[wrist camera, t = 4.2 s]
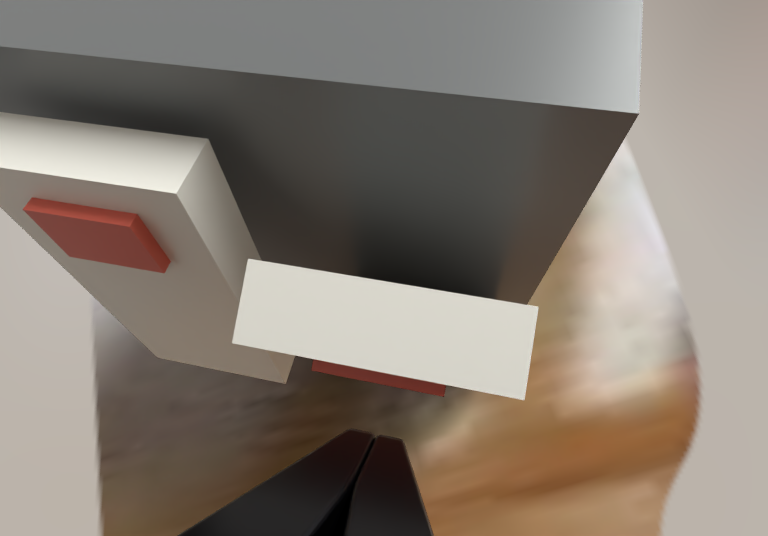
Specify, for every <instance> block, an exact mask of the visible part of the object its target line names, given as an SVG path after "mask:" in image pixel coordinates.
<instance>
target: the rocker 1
mask: <svg viewBox="0 0 768 536" xmlns="http://www.w3.org/2000/svg"><path fill="white" fill-rule="evenodd" d="M0 207H1V208H2V209H3V210H4V211H5V212H6V213H7V214H8V215H9V216H10V217H11V218H12V219H13V220H14V221H15V222H16V223H18V225H20V226H21V227H22V228H23V229H24V230H25V231H26V232H27V233H28V234H29V235H30V236H31V237H32V238H33V239H34V240H35V241H36V242H37V243H38V244H39V245H40V246H41V247H42V248H44V249H45V250H46V251H47V252H48V253H49V254H50V255H51V256H52V257H53V258H54V259H55V260H56V261H57V262H58V263H59V264H60V265H61V266H62V267H63V268H64V269H65V270H67V271H68V272H69V273H70V274H71V275H72V276H73V277H74V278H75V279H76V280H77V281H78V282H79V283H80V284H81V285H82V286H83V287H84V288H85V289H86V290H87V291H88V292H89V293H90V294H91V295H93V296H94V297H95V298H96V299H97V300H98V301H99V302H100V303H101V304H102V305H103V306H104V307H105V308H106V309H107V310H108V311H109V312H110V313H111V314H112V315H113V316H114V317H115V318H117V319H118V320H119V321H120V322H121V323H122V324H123V325H124V326H125V327H126V328H127V329H128V330H129V331H130V332H131V333H132V334H133V335H134V336H135V337H136V338H137V339H138V340H139V341H141V342H142V343H143V344H144V345H145V346H146V347H147V348H148V349H149V350H150V351H151V352H152V353H153V354H154V355H155V356H156V357H157V358H161V359H166V360H171V361H176V362H181V363H186V364H190V365H195V366H200V367H205V368H210V369H215V370H220V371H225V372H230V373H234V374H239V375H244V376H249V377H254V378H259V379H264V380H269V381H273V382H278V383H283V384H286V382H287V379H288V376H289V373H290V370H291V367H292V364H293V361H294V358H295V355H290V354H285V353H280V352H275V351H270V350H265V349H259V348H254V347H249V346H244V345H239V344H234V343H232V340H233V335H234V330H235V325H236V319H237V314H238V309H239V304H240V298H241V293H242V288H243V282H244V277H245V272H246V267H247V261H248V259H254V260H260V261H262V260H261V258H260V256H259V254H258V251H257V249H256V247H255V244H254V242H253V240H252V238H251V235H250V233H249V231H248V228H247V226H246V224H245V222H244V219H243V217H242V215H241V212H240V210H239V208H238V206H237V203H236V201H235V199H234V196H233V194H232V192H231V190H230V187H229V185H228V183H227V180H226V178H225V176H224V174H223V171H222V169H221V167H220V164H219V162H218V160H217V158H216V155H215V153H214V151H213V148H212V146H211V144H210V142H209V139H206V138H198V137H190V136H183V135H175V134H167V133H159V132H152V131H144V130H136V129H128V128H121V127H113V126H105V125H97V124H89V123H82V122H74V121H66V120H58V119H51V118H43V117H35V116H27V115H20V114H12V113H4V112H0Z"/></svg>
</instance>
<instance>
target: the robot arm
mask: <svg viewBox="0 0 768 536" xmlns="http://www.w3.org/2000/svg"><path fill="white" fill-rule="evenodd" d="M178 536H434V535H433V531H432V528H431V525H430V522H429V519H428V516H427V512H426V509H425V506H424V503H423V500H422V497H421V494H420V490H419V487H418V484H417V481H416V478H415V475H414V471H413V468H412V465H411V462H410V459H409V456H408V453H407V449H406V446H405V444H404V442H403V440H401V439H398V438H393V437H389V436H384V435H379V436H377V437H376V438H375V435H374V434H373V433H370V432H366V431H361V430H357V429H349V430H346V431H345V432H343V433H341V434H340V435H338V436H337V437H335V438H333V439H332V440H330V441H329V442H327V443H325V444H324V445H322V446H321V447H319V448H317V449H316V450H314V451H313V452H311V453H309V454H308V455H306V456H305V457H303V458H301V459H300V460H298V461H296V462H295V463H293V464H292V465H290V466H288V467H287V468H285V469H284V470H282V471H280V472H279V473H277V474H276V475H274V476H272V477H271V478H269V479H268V480H266V481H264V482H263V483H261V484H260V485H258V486H256V487H255V488H253V489H251V490H250V491H248V492H247V493H245V494H243V495H242V496H240V497H239V498H237V499H235V500H234V501H232V502H231V503H229V504H227V505H226V506H224V507H223V508H221V509H219V510H218V511H216V512H215V513H213V514H211V515H210V516H208V517H206V518H205V519H203V520H202V521H200V522H198V523H197V524H195V525H194V526H192V527H190V528H189V529H187V530H186V531H184V532H182V533H181V534H179V535H178Z"/></svg>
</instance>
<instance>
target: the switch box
mask: <svg viewBox="0 0 768 536" xmlns="http://www.w3.org/2000/svg"><path fill="white" fill-rule="evenodd" d="M642 16H643V0H0V112H4V113H12V114H20V115H27V116H35V117H43V118H51V119H58V120H66V121H74V122H82V123H89V124H97V125H105V126H113V127H121V128H128V129H136V130H144V131H152V132H159V133H167V134H175V135H183V136H190V137H198V138H206V139H209V142H210V144H211V146H212V148H213V151H214V153H215V155H216V158H217V160H218V162H219V164H220V167H221V169H222V171H223V174H224V176H225V178H226V180H227V183H228V185H229V187H230V190H231V192H232V194H233V196H234V199H235V201H236V203H237V206H238V208H239V210H240V212H241V215H242V217H243V219H244V222H245V224H246V226H247V228H248V231H249V233H250V235H251V238H252V240H253V242H254V244H255V247H256V249H257V251H258V254H259V256H260V258H261V260H262V261H266V262H272V263H278V264H284V265H290V266H296V267H302V268H308V269H314V270H320V271H326V272H332V273H338V274H344V275H350V276H356V277H362V278H368V279H374V280H380V281H386V282H392V283H398V284H404V285H410V286H416V287H422V288H428V289H434V290H440V291H446V292H452V293H458V294H464V295H470V296H477V297H483V298H489V299H495V300H501V301H507V302H513V303H519V304H525V305H527V304H528V302H529V300H530V299H531V297H532V295H533V293H534V292H535V290H536V288H537V287H538V285H539V283H540V282H541V280H542V278H543V276H544V275H545V273H546V271H547V270H548V268H549V266H550V265H551V263H552V261H553V259H554V258H555V256H556V254H557V253H558V251H559V249H560V247H561V246H562V244H563V242H564V241H565V239H566V237H567V236H568V234H569V232H570V230H571V229H572V227H573V225H574V224H575V222H576V220H577V219H578V217H579V215H580V213H581V212H582V210H583V208H584V207H585V205H586V203H587V201H588V200H589V198H590V196H591V195H592V193H593V191H594V190H595V188H596V186H597V184H598V183H599V181H600V179H601V178H602V176H603V174H604V173H605V171H606V169H607V167H608V166H609V164H610V162H611V161H612V159H613V157H614V156H615V154H616V152H617V150H618V149H619V147H620V145H621V144H622V142H623V140H624V138H625V137H626V135H627V133H628V132H629V130H630V128H631V127H632V125H633V123H634V121H635V120H636V118H637V116H638V115H639V102H640V74H641V46H642V44H641V43H642V19H643V17H642Z"/></svg>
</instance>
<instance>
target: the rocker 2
mask: <svg viewBox="0 0 768 536" xmlns="http://www.w3.org/2000/svg"><path fill="white" fill-rule="evenodd" d="M537 314H538V307H537V306H531V305H525V304H519V303H513V302H507V301H501V300H495V299H489V298H483V297H477V296H470V295H464V294H458V293H452V292H446V291H440V290H434V289H428V288H422V287H416V286H410V285H404V284H398V283H392V282H386V281H380V280H374V279H368V278H362V277H356V276H350V275H344V274H338V273H332V272H326V271H320V270H314V269H308V268H302V267H296V266H290V265H284V264H278V263H272V262H266V261H260V260H254V259H248V261H247V267H246V272H245V277H244V282H243V288H242V293H241V298H240V304H239V309H238V314H237V319H236V325H235V330H234V335H233V340H232V343H234V344H239V345H244V346H249V347H254V348H259V349H265V350H270V351H275V352H280V353H285V354H290V355H295V356H300V357H306V358H311V359H313V363H312V369H311V370H312V371H317V372H322V373H327V374H332V375H337V376H342V377H347V378H352V379H357V380H362V381H367V382H372V383H377V384H382V385H387V386H392V387H397V388H402V389H407V390H412V391H417V392H422V393H427V394H432V395H437V396H442V397H444V394H445V388H446V385H449V386H454V387H459V388H465V389H470V390H475V391H480V392H485V393H490V394H495V395H500V396H506V397H511V398H516V399H521V400H525V393H526V386H527V380H528V373H529V367H530V360H531V354H532V347H533V340H534V334H535V327H536V321H537Z"/></svg>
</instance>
